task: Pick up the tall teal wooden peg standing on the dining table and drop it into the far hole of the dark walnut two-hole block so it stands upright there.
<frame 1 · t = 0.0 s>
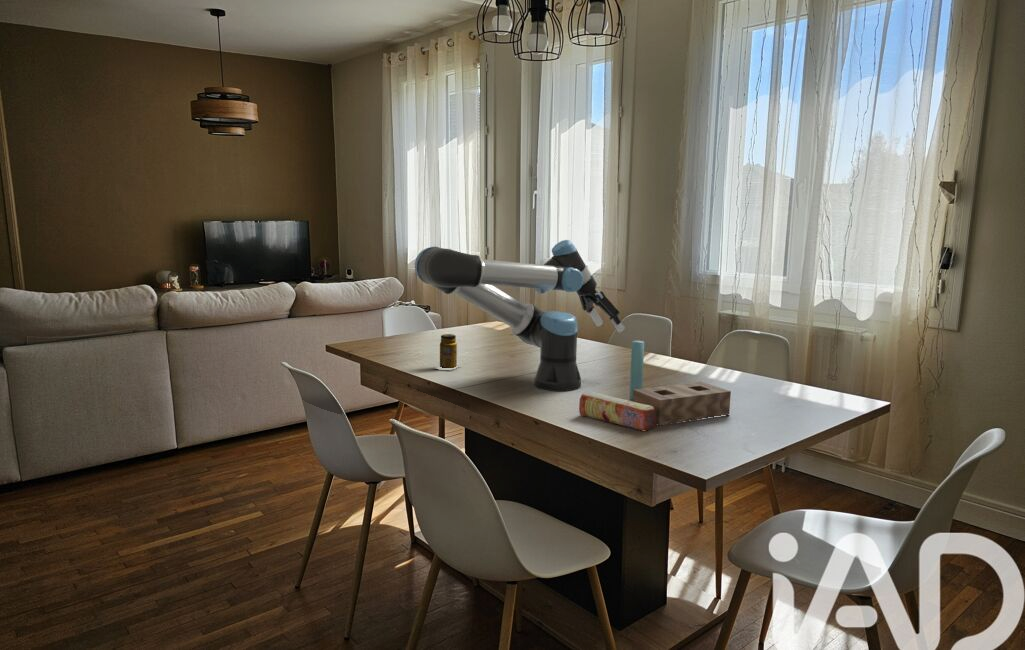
hand: (610, 327, 243), 15 cm above the table, tool tilted 35°, fingers open, 13 cm apart
hole block: (680, 414, 189), on the table
snack package: (616, 423, 183), on the table
peg: (635, 401, 203), on the table
condiment: (446, 369, 244), on the table
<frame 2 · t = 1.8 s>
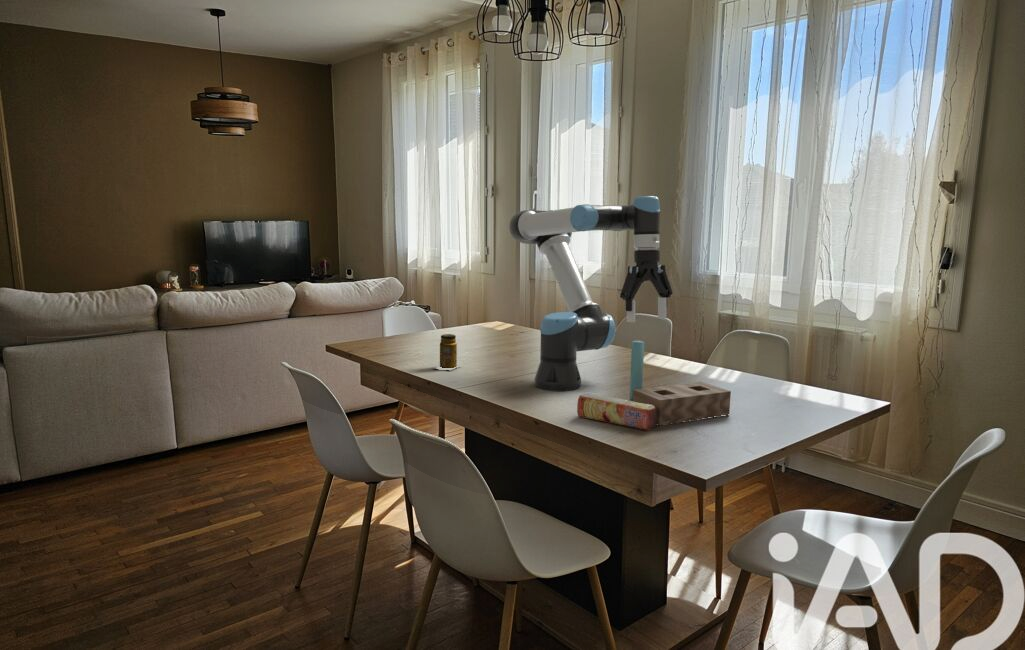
hand: (646, 320, 204), 24 cm above the table, tool pointing down, fingers open, 13 cm apart
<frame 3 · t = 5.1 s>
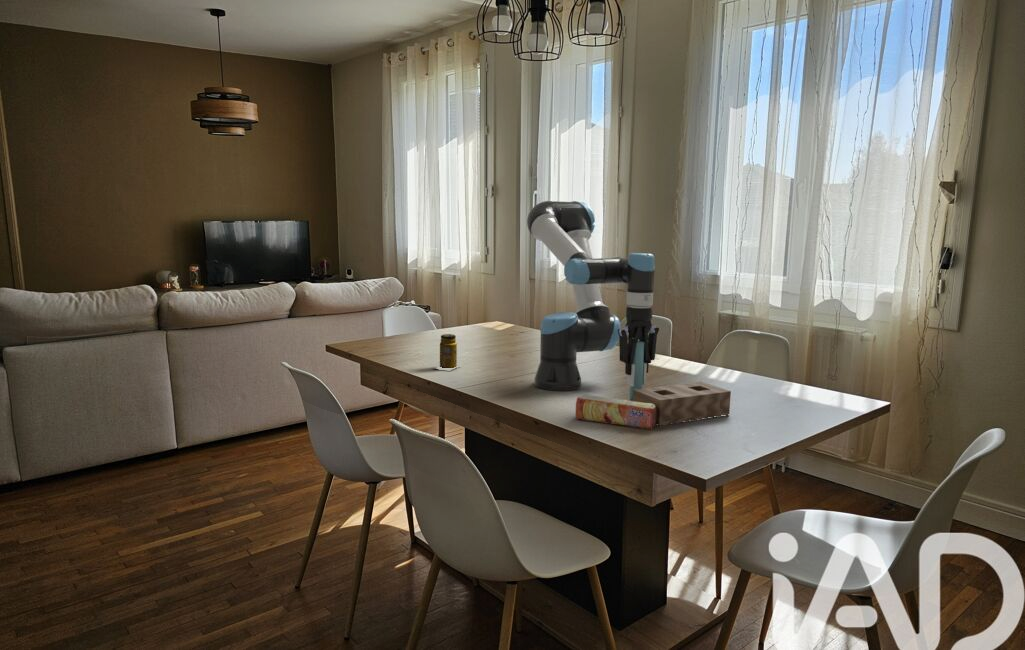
hand: (636, 384, 203), 5 cm above the table, tool pointing down, fingers closed on peg, 3 cm apart
peg: (635, 401, 203), on the table, touching gripper
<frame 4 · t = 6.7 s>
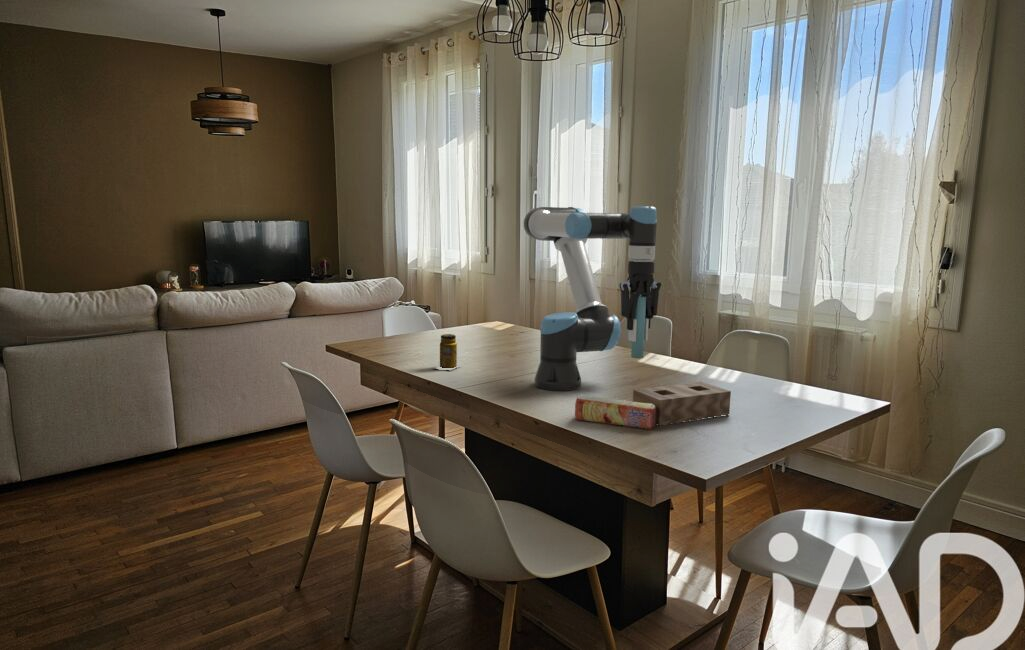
hand: (638, 340, 200), 18 cm above the table, tool pointing down, fingers closed on peg, 3 cm apart
peg: (637, 357, 201), point 13 cm above the table, touching gripper
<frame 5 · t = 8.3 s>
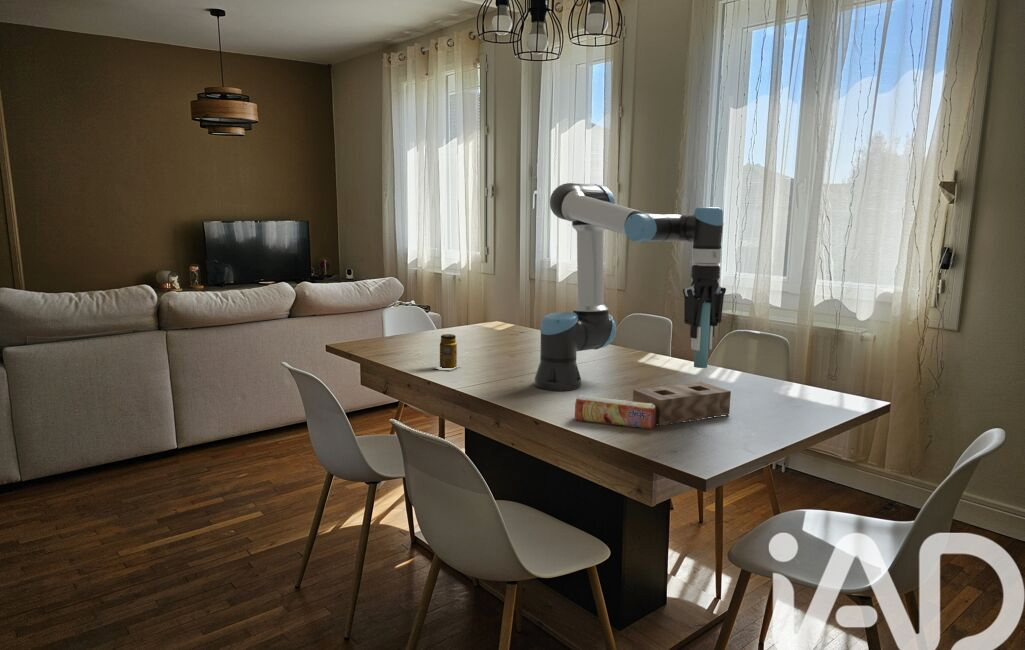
hand: (701, 348, 189), 18 cm above the table, tool pointing down, fingers closed on peg, 3 cm apart
peg: (700, 366, 190), point 13 cm above the table, touching gripper
when the fingers open (9 cm above the table, at t = 11.3 s): peg drops 2 cm, resting on hole block.
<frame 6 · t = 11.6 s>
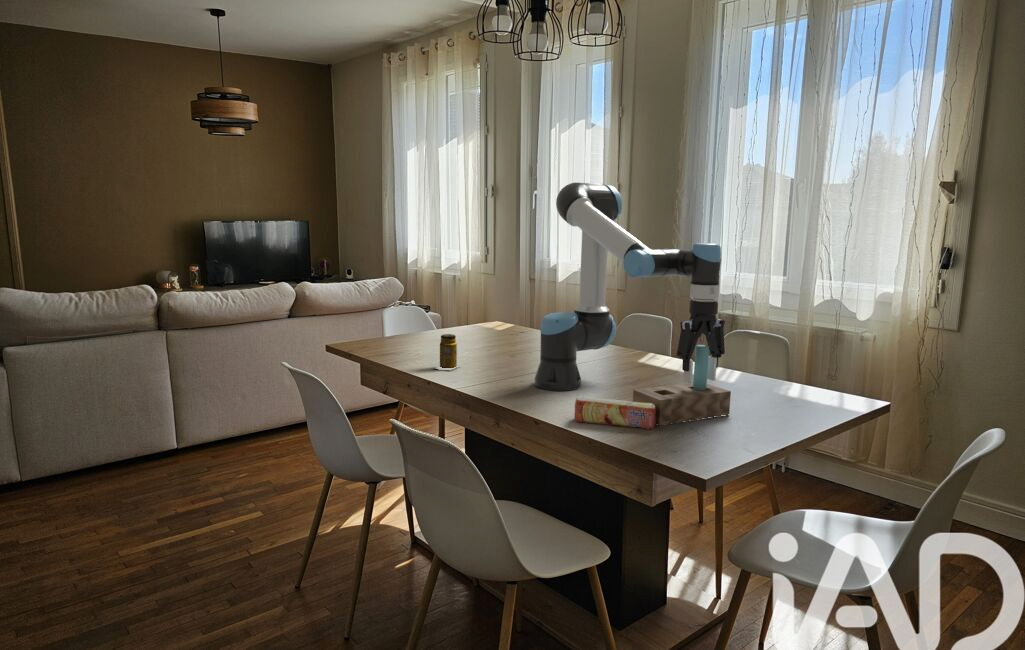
hand: (699, 380, 191), 9 cm above the table, tool pointing down, fingers open, 8 cm apart
peg: (698, 409, 192), point 1 cm above the table, touching hole block
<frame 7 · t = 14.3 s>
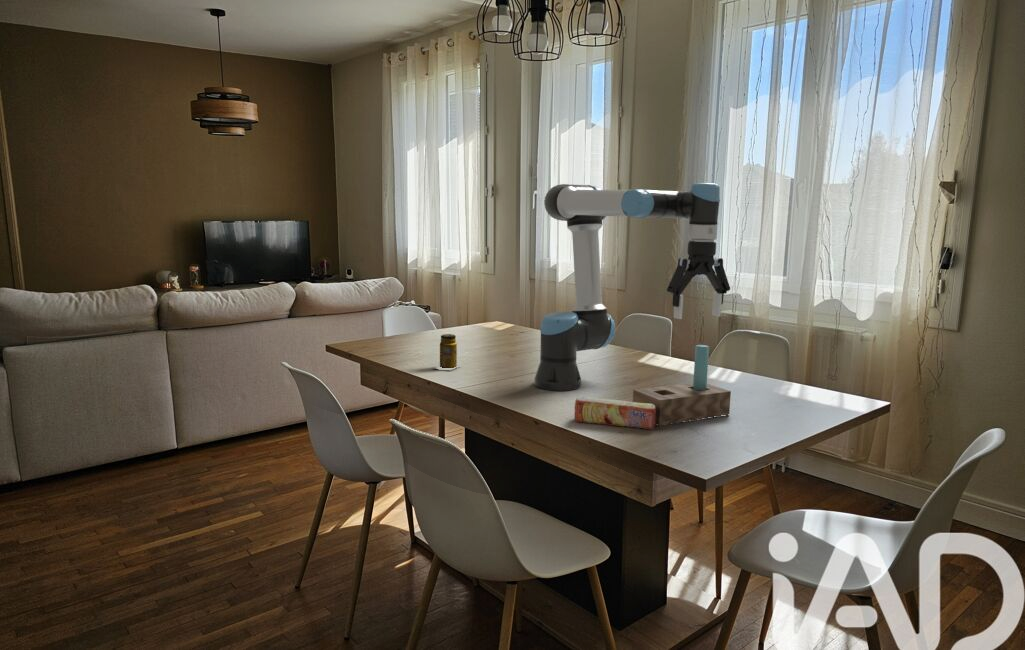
hand: (697, 317, 190), 27 cm above the table, tool pointing down, fingers open, 13 cm apart
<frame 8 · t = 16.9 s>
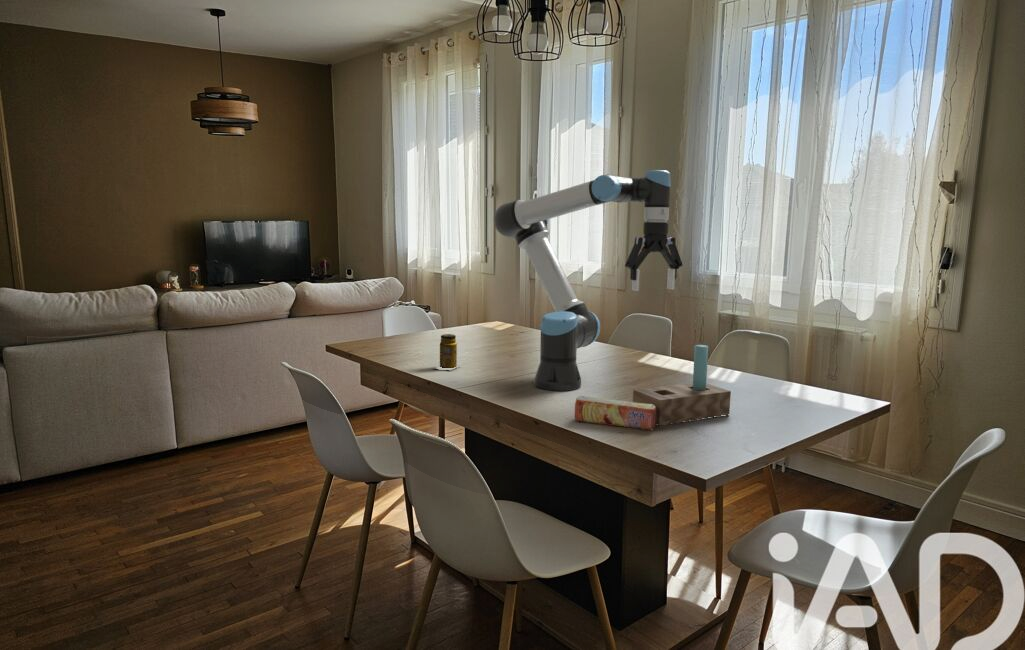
hand: (653, 290, 214), 32 cm above the table, tool pointing down, fingers open, 13 cm apart
at the end: peg 0.1 cm from the target spot on the hole block, point 1.0 cm above the hole block's base; peg tilted 0°; the gripper is holding nothing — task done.
